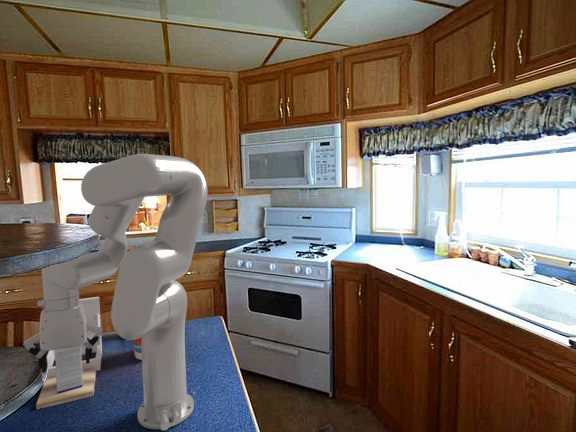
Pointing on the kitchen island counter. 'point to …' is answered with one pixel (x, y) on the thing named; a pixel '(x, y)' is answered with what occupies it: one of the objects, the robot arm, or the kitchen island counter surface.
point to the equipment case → (93, 319)
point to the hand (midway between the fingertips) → (67, 365)
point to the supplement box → (68, 368)
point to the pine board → (52, 398)
